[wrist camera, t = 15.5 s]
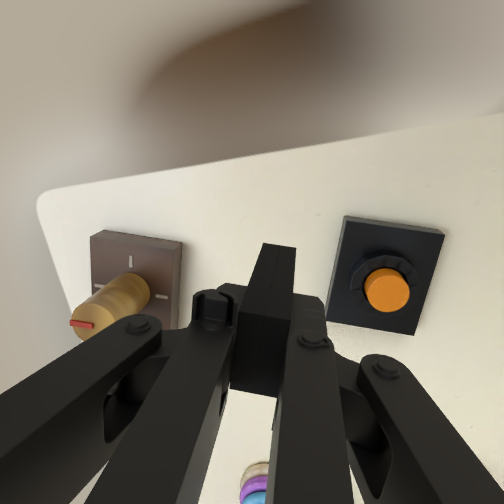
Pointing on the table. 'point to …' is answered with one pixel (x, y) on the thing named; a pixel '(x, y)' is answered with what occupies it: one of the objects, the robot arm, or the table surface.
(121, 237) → the plate
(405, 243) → the block
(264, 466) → the stacking toy
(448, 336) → the table surface
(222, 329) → the robot arm
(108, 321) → the lock knob
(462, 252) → the table surface
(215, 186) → the table surface
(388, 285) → the bell button
